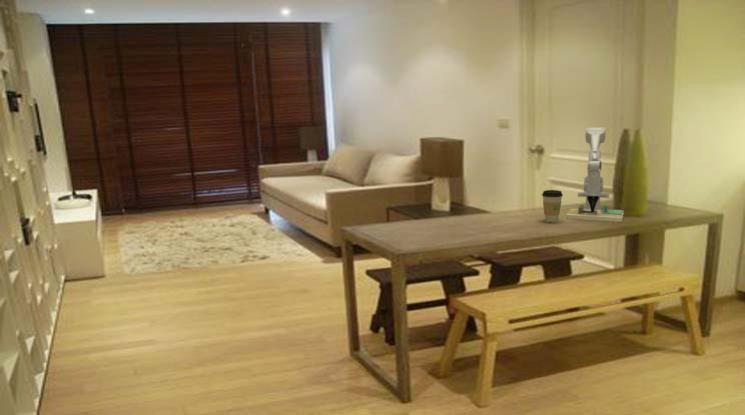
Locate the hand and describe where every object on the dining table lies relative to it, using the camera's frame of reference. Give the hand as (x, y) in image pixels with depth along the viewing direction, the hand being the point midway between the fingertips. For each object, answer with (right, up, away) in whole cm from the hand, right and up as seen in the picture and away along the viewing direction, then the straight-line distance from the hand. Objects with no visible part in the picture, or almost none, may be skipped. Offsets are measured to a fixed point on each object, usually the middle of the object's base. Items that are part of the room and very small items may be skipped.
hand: (592, 211), depth 307 cm
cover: (+9, -2, -1) cm, 9 cm away
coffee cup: (-21, -5, -3) cm, 22 cm away
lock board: (+2, -3, +3) cm, 5 cm away
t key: (-1, -1, +4) cm, 5 cm away
